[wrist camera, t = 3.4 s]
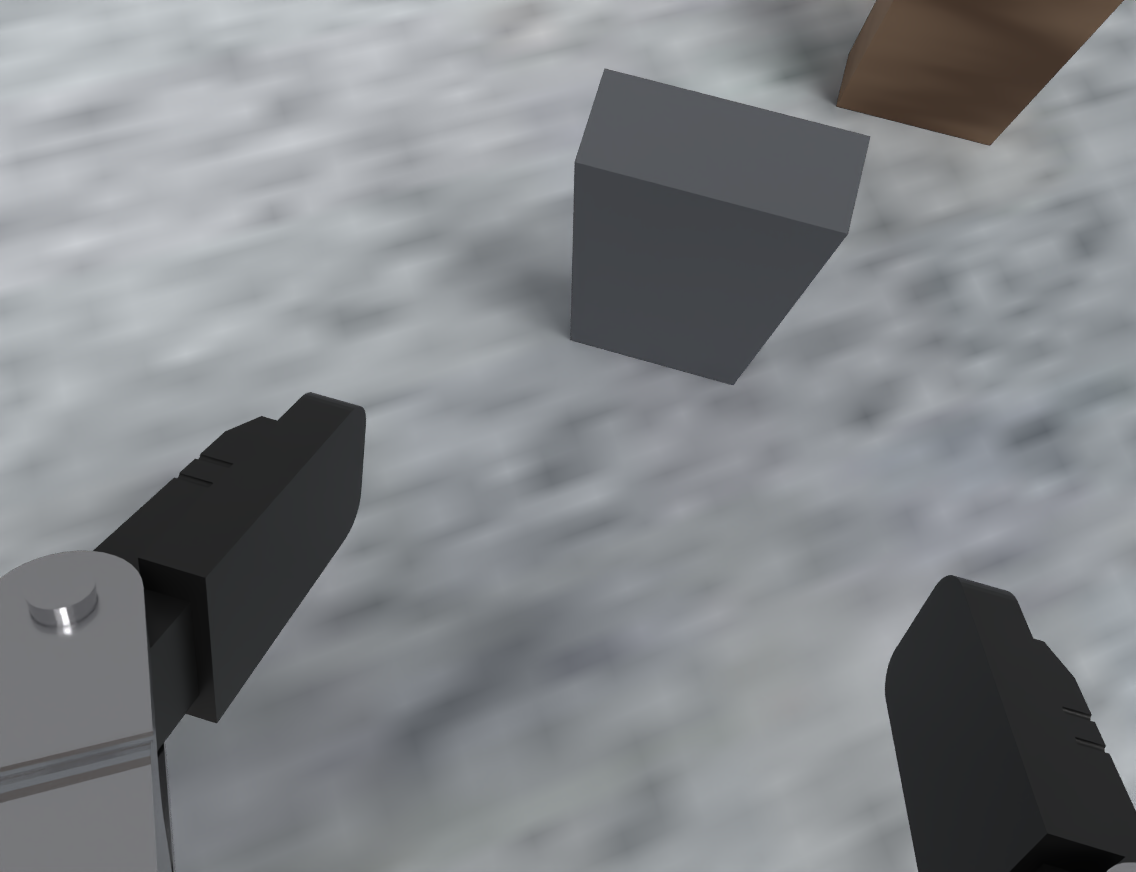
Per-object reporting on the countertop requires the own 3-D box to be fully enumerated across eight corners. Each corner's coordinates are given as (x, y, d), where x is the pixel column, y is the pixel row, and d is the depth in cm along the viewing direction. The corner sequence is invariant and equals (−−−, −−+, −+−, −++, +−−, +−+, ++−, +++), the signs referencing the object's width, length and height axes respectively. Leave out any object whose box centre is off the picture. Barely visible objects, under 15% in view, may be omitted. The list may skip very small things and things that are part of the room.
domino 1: (748, 323, 23) (870, 136, 14) (733, 385, 23) (847, 233, 14) (588, 279, 24) (604, 68, 14) (570, 339, 23) (574, 161, 14)
